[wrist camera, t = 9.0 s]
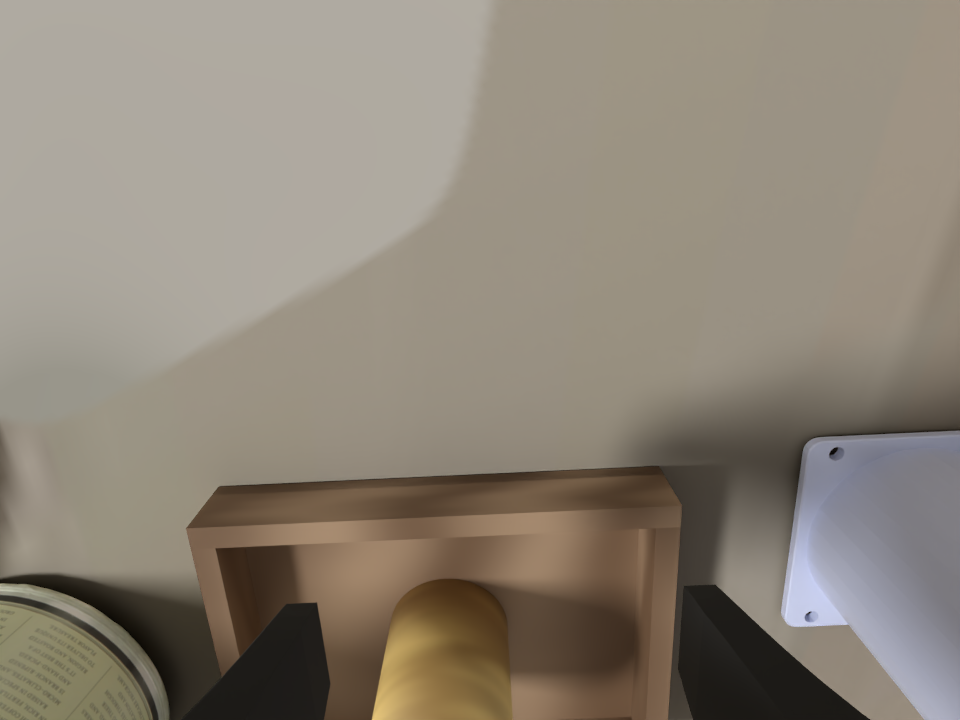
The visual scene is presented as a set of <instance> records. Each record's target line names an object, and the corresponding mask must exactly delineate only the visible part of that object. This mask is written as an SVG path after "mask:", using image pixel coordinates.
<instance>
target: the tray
mask: <svg viewBox="0 0 960 720" xmlns="http://www.w3.org/2000/svg"><path fill="white" fill-rule="evenodd" d="M681 515H682V505H681V503H680V501H679V500H678V498H677V496H676V495H675V493H674V491H673V489H672V488H671V486H670V484H669V483H668V481H667V479H666V478H665V476H664V474H663V473H662V471H661V469H660V467H659V466H655V467H634V468H612V469H591V470H569V471H548V472H526V473H504V474H483V475H461V476H440V477H418V478H397V479H375V480H354V481H332V482H311V483H289V484H268V485H246V486H225V487H218V488H217V490H216V491H215V492H214V493H213V495H212V496H211V497H210V499H209V500H208V501H207V502H206V504H205V505H204V506H203V507H202V509H201V510H200V511H199V513H198V514H197V515H196V516H195V518H194V519H193V520H192V522H191V523H190V524H189V525H188V527H187V528H186V530H187V534H188V539H189V543H190V547H191V551H192V555H193V560H194V564H195V568H196V572H197V576H198V581H199V585H200V589H201V593H202V597H203V601H204V606H205V610H206V614H207V618H208V622H209V627H210V631H211V635H212V639H213V643H214V648H215V652H216V656H217V660H218V664H219V669H220V673H221V677H222V676H223V675H224V674H225V673H226V672H227V671H228V670H229V668H230V667H231V666H232V665H233V664H234V663H235V662H236V661H237V660H238V658H239V657H240V656H241V655H242V654H243V653H244V652H245V650H246V649H247V648H248V647H249V646H250V645H251V644H252V642H253V641H254V640H255V639H256V638H257V637H258V635H259V634H260V633H261V632H262V631H263V630H264V628H265V627H266V626H267V625H268V624H269V623H270V621H271V620H272V619H273V618H274V617H275V616H276V615H277V613H278V612H279V611H280V610H281V609H282V608H283V607H284V606H285V605H286V604H293V603H316V602H317V605H318V611H319V617H320V623H321V629H322V635H323V641H324V647H325V653H326V659H327V665H328V671H329V677H330V683H331V684H330V689H329V695H328V700H327V706H326V712H325V717H324V720H372V716H373V711H374V706H375V701H376V696H377V690H378V685H379V680H380V675H381V670H382V665H383V659H384V654H385V649H386V644H387V639H388V634H389V628H390V623H391V618H392V614H393V611H394V609H395V607H396V605H397V603H398V602H399V601H400V599H401V598H402V597H403V596H404V595H405V594H406V593H407V592H409V591H410V590H411V589H413V588H415V587H416V586H418V585H420V584H423V583H426V582H429V581H432V580H437V579H458V580H464V581H468V582H471V583H474V584H476V585H478V586H480V587H482V588H484V589H485V590H487V591H488V592H490V593H491V594H492V595H493V596H494V597H495V598H496V599H497V600H498V601H499V603H500V604H501V606H502V607H503V610H504V612H505V615H506V618H507V626H508V643H509V661H510V678H511V696H512V713H513V720H668V710H669V695H670V680H671V665H672V650H673V635H674V620H675V605H676V590H677V575H678V560H679V545H680V530H681Z"/></svg>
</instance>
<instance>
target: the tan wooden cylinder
mask: <svg viewBox="0 0 960 720" xmlns="http://www.w3.org/2000/svg"><path fill="white" fill-rule="evenodd" d="M372 720H513V713H512V696H511V678H510V661H509V643H508V626H507V618H506V615H505V612H504V610H503V607H502V606H501V604H500V603H499V601H498V600H497V599H496V598H495V597H494V596H493V595H492V594H491V593H490V592H488V591H487V590H485V589H484V588H482V587H480V586H478V585H476V584H474V583H471V582H468V581H464V580H458V579H437V580H432V581H429V582H426V583H423V584H420V585H418V586H416V587H415V588H413V589H411V590H410V591H409V592H407V593H406V594H405V595H404V596H403V597H402V598H401V599H400V601H399V602H398V603H397V605H396V607H395V609H394V611H393V614H392V618H391V623H390V628H389V634H388V639H387V644H386V649H385V654H384V659H383V665H382V670H381V675H380V680H379V685H378V690H377V696H376V701H375V706H374V711H373V716H372Z"/></svg>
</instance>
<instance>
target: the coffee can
mask: <svg viewBox="0 0 960 720" xmlns="http://www.w3.org/2000/svg"><path fill="white" fill-rule="evenodd" d="M169 713H170V711H169V701H168V698H167V694H166V690H165V687H164V684H163V682H162V679H161V677H160V674H159V672H158V671H157V669H156V667H155V666H154V664H153V663H152V661H151V660H150V658H149V657H148V655H147V654H146V653H145V651H144V650H143V649H142V648H141V646H140V645H139V644H138V643H137V642H136V641H135V640H134V639H133V638H132V637H131V636H130V634H129V633H128V632H127V631H126V630H125V629H124V628H122V627H121V626H120V625H118V624H117V623H115V622H113V621H112V620H111V619H109V618H108V617H107V616H106V615H104V614H103V613H102V612H100V611H99V610H97V609H95V608H94V607H92V606H90V605H88V604H86V603H84V602H82V601H80V600H78V599H76V598H73V597H71V596H68V595H66V594H63V593H60V592H57V591H54V590H51V589H47V588H42V587H38V586H34V585H29V584H6V583H0V720H169Z"/></svg>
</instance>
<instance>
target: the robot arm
mask: <svg viewBox="0 0 960 720" xmlns="http://www.w3.org/2000/svg"><path fill="white" fill-rule="evenodd" d="M836 447H838V450H837V452H836V453H835V454H833V455H829V453H830V451H831V450H832V449H833V448H836ZM811 611H812V612H811ZM808 612H811V613H810V614H807V613H808ZM806 614H807V615H806ZM781 615H782V617H783V618H784V620H785V621H786V623H787V624H788V625H790V626H793V627H804V626H827V625H849V626H850V627H851V628H852V629H853V631H854V632H855V633H856V634H857V636H858V637H859V638H860V639H861V641H862V642H863V643H864V644H865V646H866V647H867V648H868V649H869V651H870V652H871V653H872V654H873V656H874V657H875V658H876V659H877V661H878V662H879V663H880V664H881V666H882V667H883V668H884V670H885V671H886V672H887V673H888V675H889V676H890V677H891V678H892V680H893V681H894V682H895V683H896V685H897V686H898V687H899V688H900V690H901V691H902V692H903V693H904V695H905V696H906V697H907V698H908V700H909V701H910V702H911V703H912V705H913V706H914V707H915V708H916V710H917V711H918V712H919V713H920V715H921V716H922V717H923V718H924V720H960V431H940V432H919V433H897V434H876V435H855V436H833V437H817V438H813V439H812V440H810V441H808V442H807V444H806V445H805V446H804V449H803V454H802V461H801V469H800V476H799V483H798V491H797V498H796V505H795V513H794V520H793V528H792V535H791V542H790V550H789V557H788V564H787V572H786V579H785V587H784V594H783V601H782V609H781ZM678 670H679V673H680V677H681V680H682V684H683V687H684V691H685V694H686V698H687V701H688V704H689V707H690V711H691V714H692V717H693V720H870V719H868V718H867V717H866V716H864V715H863V714H862V713H861V712H859V711H858V710H857V709H855V708H854V707H853V706H852V705H850V704H849V703H848V702H847V701H845V700H844V699H843V698H842V697H840V696H839V695H838V694H837V693H835V692H834V691H833V690H832V689H831V688H829V687H828V686H827V685H826V684H824V683H823V682H822V681H821V680H820V679H818V678H817V677H816V676H815V675H814V674H812V673H811V672H810V671H809V670H808V669H807V668H805V667H804V666H803V665H802V664H801V663H800V662H799V661H797V660H796V659H795V658H794V657H793V656H792V655H791V654H790V653H788V652H787V651H786V650H785V649H784V648H783V647H782V646H781V645H779V644H778V643H777V642H776V641H775V640H774V639H773V638H772V637H771V636H770V635H769V634H767V633H766V632H765V631H764V630H763V629H762V628H761V627H760V626H759V625H758V624H757V623H756V622H755V621H753V620H752V619H751V618H750V617H749V616H748V615H747V614H746V613H745V612H744V611H743V610H742V609H741V608H740V607H739V606H738V605H736V604H735V603H734V602H733V601H732V600H731V599H730V598H729V597H728V596H727V595H726V594H725V593H724V592H723V591H722V590H720V589H719V588H718V587H717V586H716V585H698V586H684V593H683V607H682V621H681V635H680V649H679V663H678ZM330 684H331V683H330V677H329V671H328V665H327V659H326V653H325V647H324V641H323V635H322V629H321V623H320V617H319V611H318V605H317V602H316V603H293V604H286V605H285V606H284V607H283V608H282V609H281V610H280V611H279V612H278V613H277V615H276V616H275V617H274V618H273V619H272V620H271V621H270V623H269V624H268V625H267V626H266V627H265V628H264V630H263V631H262V632H261V633H260V634H259V635H258V637H257V638H256V639H255V640H254V641H253V642H252V644H251V645H250V646H249V647H248V648H247V649H246V650H245V652H244V653H243V654H242V655H241V656H240V657H239V658H238V660H237V661H236V662H235V663H234V664H233V665H232V666H231V667H230V668H229V670H228V671H227V672H226V673H225V674H224V675H223V676H222V677H221V678H220V679H219V681H218V682H217V683H216V684H215V685H214V686H213V687H212V688H211V689H210V691H209V692H208V693H207V694H206V695H205V696H204V697H203V698H202V699H201V700H200V701H199V702H198V703H197V704H196V705H195V706H194V707H193V708H192V709H191V710H190V711H189V712H188V713H187V714H186V715H185V716H184V717H183V718H182V719H181V720H324V717H325V712H326V706H327V700H328V695H329V689H330Z"/></svg>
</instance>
